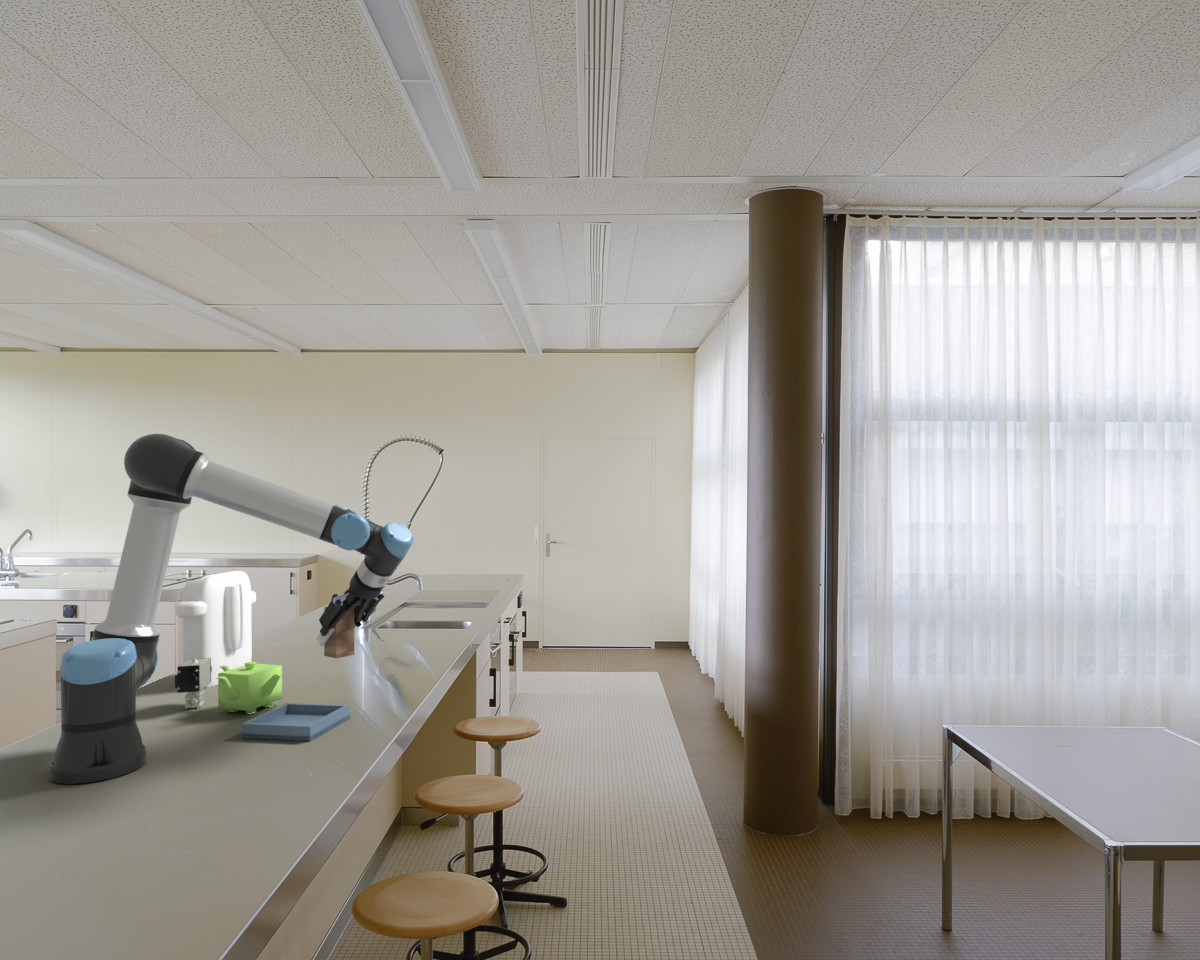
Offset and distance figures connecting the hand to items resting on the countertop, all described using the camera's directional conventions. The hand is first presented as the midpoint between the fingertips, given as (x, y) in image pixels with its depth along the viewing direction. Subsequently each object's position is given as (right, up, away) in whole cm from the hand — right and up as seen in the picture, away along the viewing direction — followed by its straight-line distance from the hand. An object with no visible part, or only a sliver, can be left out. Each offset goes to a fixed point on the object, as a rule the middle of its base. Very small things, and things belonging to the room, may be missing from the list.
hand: (330, 640), depth 183 cm
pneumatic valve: (-33, -16, -3) cm, 36 cm away
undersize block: (+3, -3, -2) cm, 5 cm away
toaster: (-39, -17, +25) cm, 49 cm away
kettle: (-18, -16, -6) cm, 24 cm away
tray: (+1, -15, -21) cm, 26 cm away
